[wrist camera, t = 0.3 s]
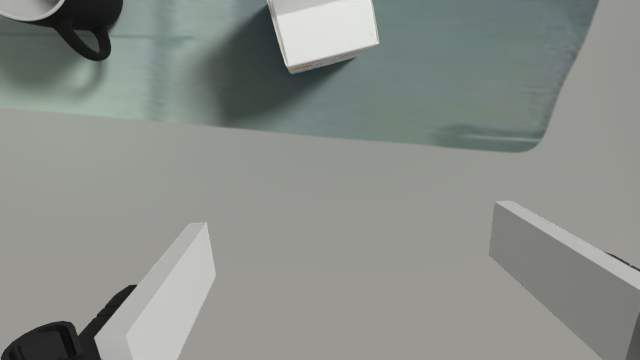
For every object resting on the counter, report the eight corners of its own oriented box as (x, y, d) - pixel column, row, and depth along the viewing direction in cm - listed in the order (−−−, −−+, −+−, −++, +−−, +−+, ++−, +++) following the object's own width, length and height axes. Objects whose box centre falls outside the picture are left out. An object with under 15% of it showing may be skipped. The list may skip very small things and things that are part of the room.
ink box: (289, 76, 38) (282, 70, 25) (268, 0, 36) (248, -49, 23) (358, 57, 38) (387, 41, 25) (342, -21, 35) (364, -82, 23)
